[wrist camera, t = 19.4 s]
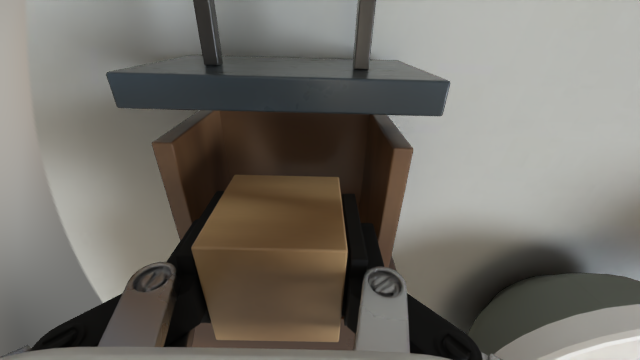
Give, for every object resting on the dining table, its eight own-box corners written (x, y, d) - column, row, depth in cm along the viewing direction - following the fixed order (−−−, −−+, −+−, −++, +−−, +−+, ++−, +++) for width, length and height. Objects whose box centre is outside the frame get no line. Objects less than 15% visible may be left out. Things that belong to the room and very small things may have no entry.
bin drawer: (163, -90, 12) (7, -209, 6) (421, -82, 12) (519, -189, 6) (226, 243, 21) (190, 325, 15) (370, 245, 21) (390, 328, 15)
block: (245, 252, 13) (215, 341, 10) (234, 174, 11) (189, 247, 7) (334, 253, 14) (339, 343, 10) (339, 176, 11) (348, 250, 8)
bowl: (695, 257, 23) (864, 360, 16) (548, 369, 32) (615, 468, 25) (505, 208, 21) (603, 303, 14) (403, 343, 29) (430, 445, 22)
